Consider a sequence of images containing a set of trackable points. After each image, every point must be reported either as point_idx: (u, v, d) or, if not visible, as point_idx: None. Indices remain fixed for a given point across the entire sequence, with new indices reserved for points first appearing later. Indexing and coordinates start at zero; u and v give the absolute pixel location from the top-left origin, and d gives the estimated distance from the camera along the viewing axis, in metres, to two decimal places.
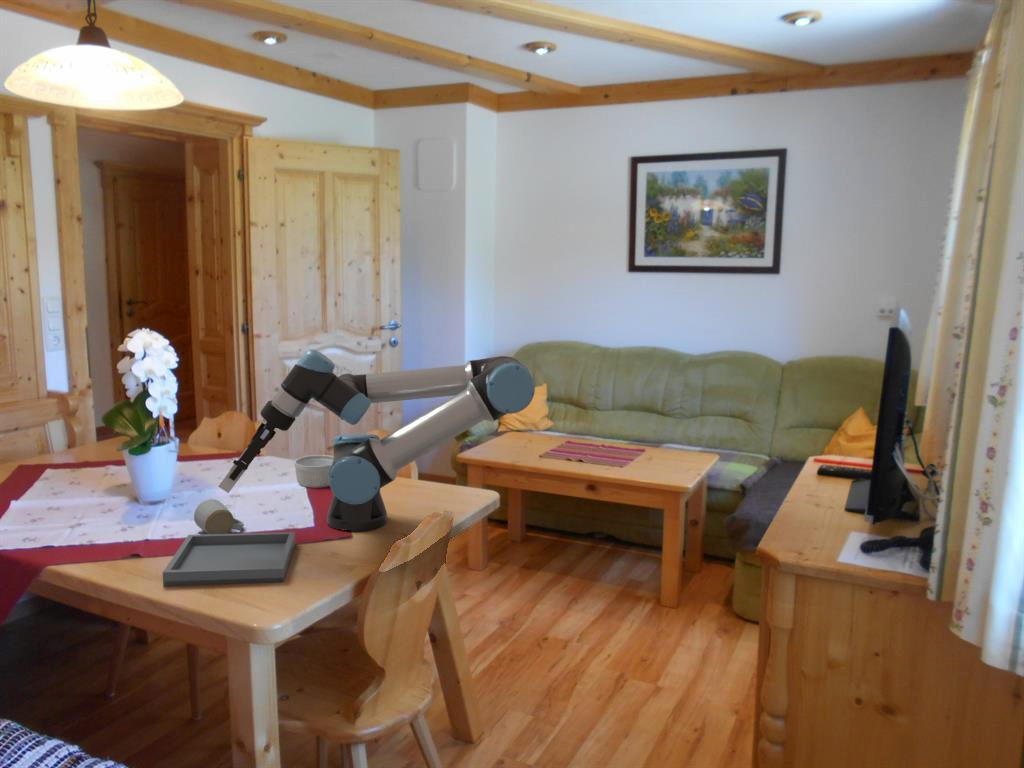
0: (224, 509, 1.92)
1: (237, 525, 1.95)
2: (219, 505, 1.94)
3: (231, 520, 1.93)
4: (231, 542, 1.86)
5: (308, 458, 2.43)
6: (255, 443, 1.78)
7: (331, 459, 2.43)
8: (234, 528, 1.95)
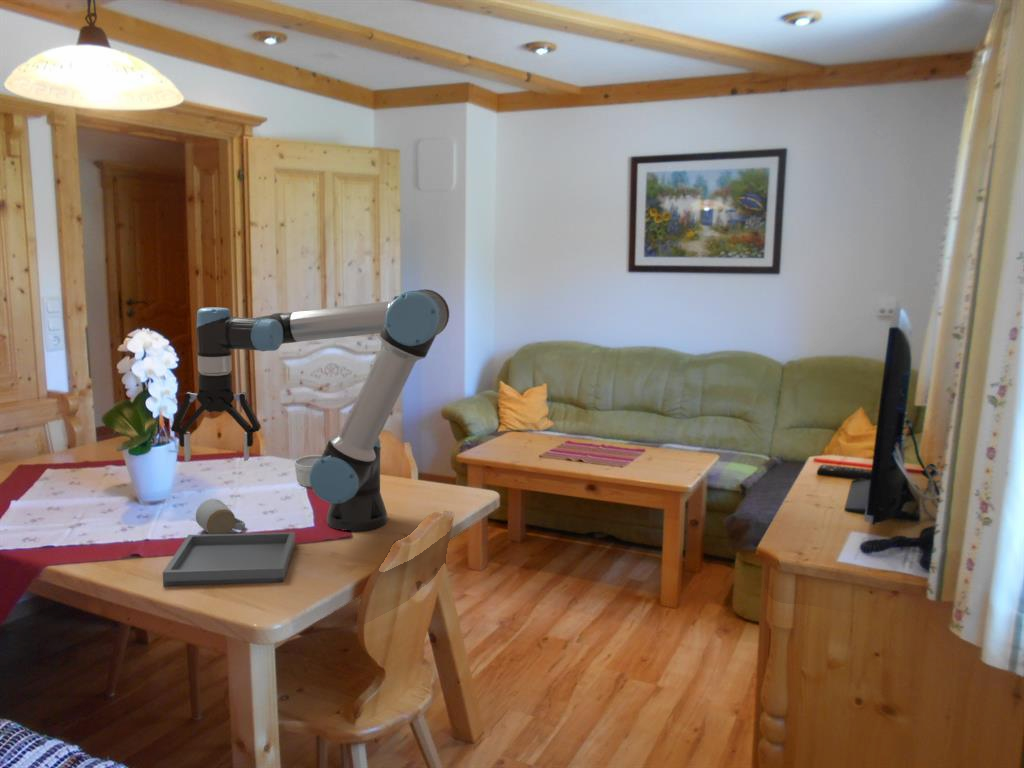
0: (226, 509, 1.92)
1: (239, 525, 1.95)
2: (221, 505, 1.94)
3: (233, 520, 1.93)
4: (231, 542, 1.86)
5: (308, 458, 2.43)
6: None
7: None
8: (236, 528, 1.95)
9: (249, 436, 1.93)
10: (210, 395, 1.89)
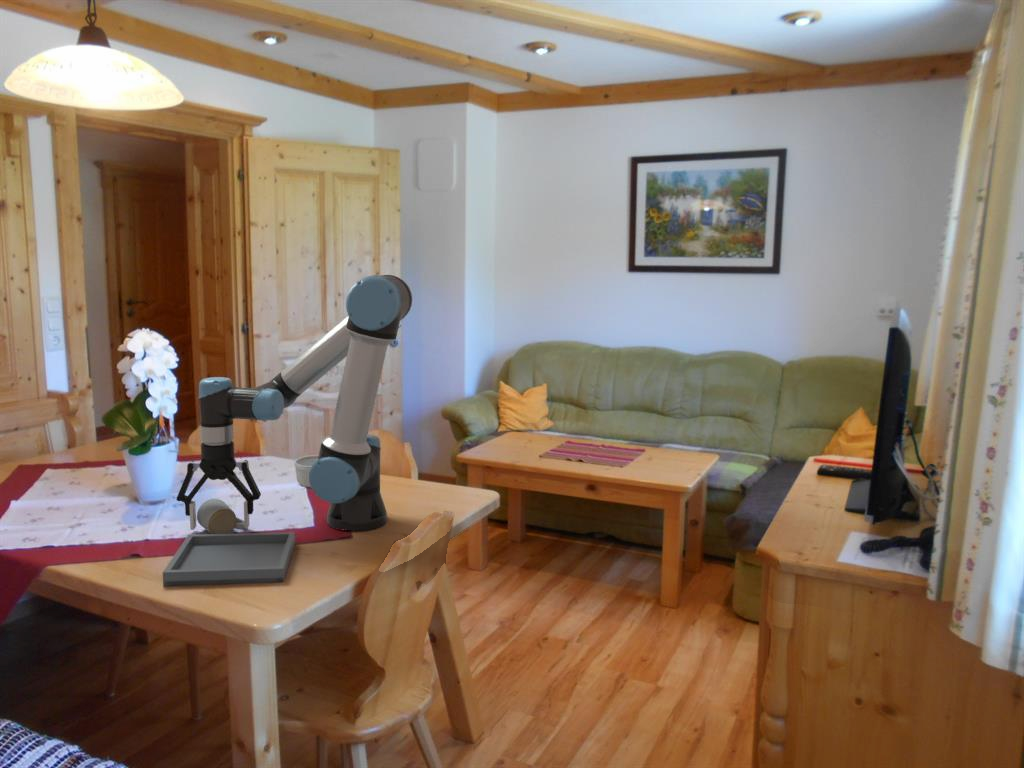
0: (227, 508, 1.93)
1: (240, 524, 1.96)
2: (222, 504, 1.94)
3: (234, 519, 1.93)
4: (231, 542, 1.86)
5: (308, 458, 2.43)
6: None
7: None
8: (237, 527, 1.95)
9: (250, 504, 1.95)
10: (212, 463, 1.92)
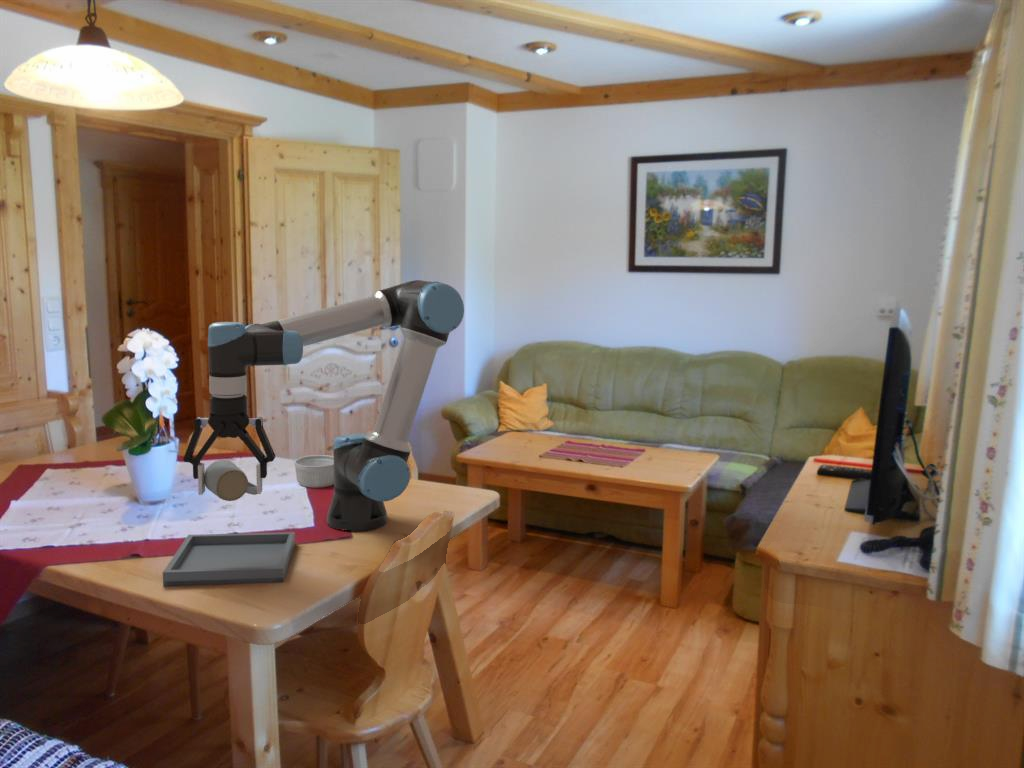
0: (238, 470, 1.71)
1: (252, 489, 1.74)
2: (232, 466, 1.73)
3: (245, 482, 1.72)
4: (231, 542, 1.86)
5: (308, 458, 2.43)
6: None
7: (331, 459, 2.43)
8: (248, 492, 1.74)
9: (263, 467, 1.74)
10: (223, 418, 1.70)
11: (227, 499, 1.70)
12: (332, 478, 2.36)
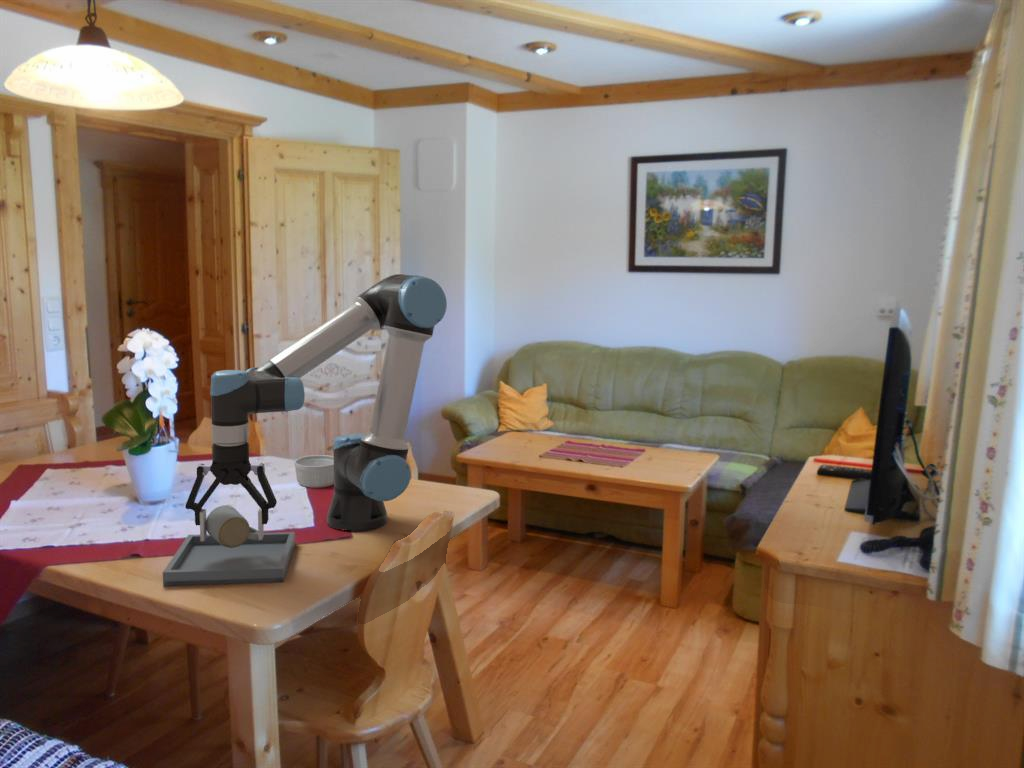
0: (240, 517, 1.72)
1: (253, 534, 1.75)
2: (234, 512, 1.74)
3: (247, 529, 1.73)
4: None
5: (308, 458, 2.43)
6: None
7: (331, 459, 2.43)
8: (250, 538, 1.75)
9: (264, 513, 1.75)
10: (225, 466, 1.72)
11: (229, 546, 1.71)
12: (332, 478, 2.36)
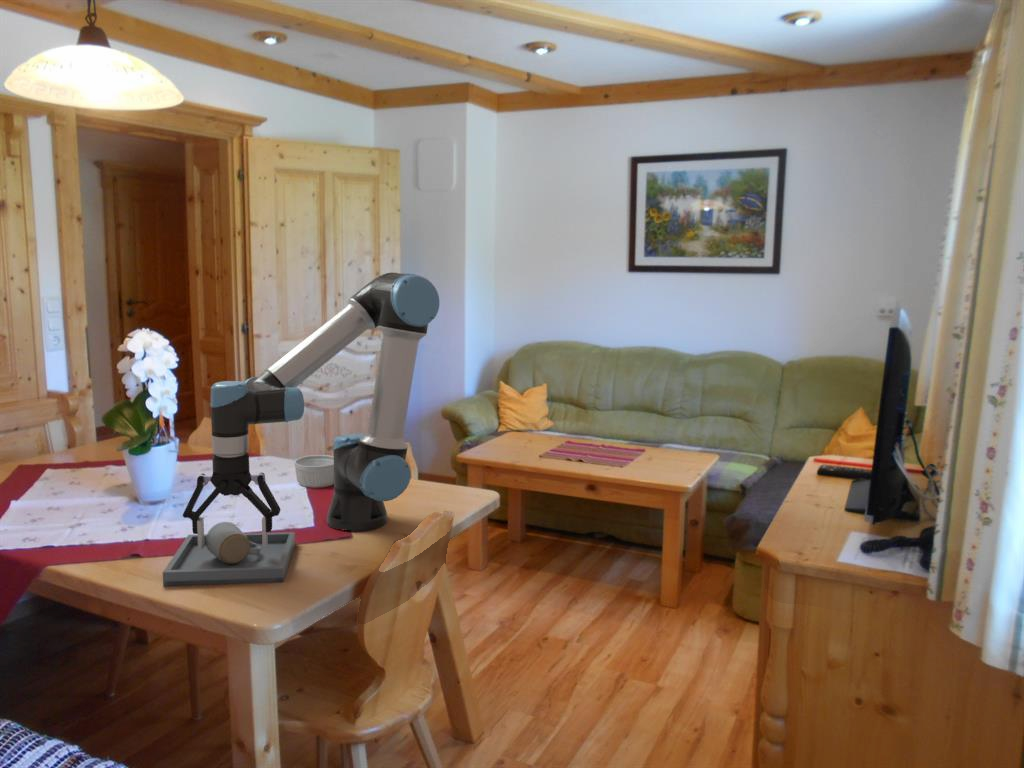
0: (239, 533, 1.73)
1: (254, 549, 1.76)
2: (233, 528, 1.74)
3: (247, 545, 1.74)
4: None
5: (308, 458, 2.43)
6: None
7: (331, 459, 2.43)
8: (251, 553, 1.76)
9: (268, 521, 1.76)
10: (225, 477, 1.72)
11: (230, 563, 1.72)
12: (332, 478, 2.36)
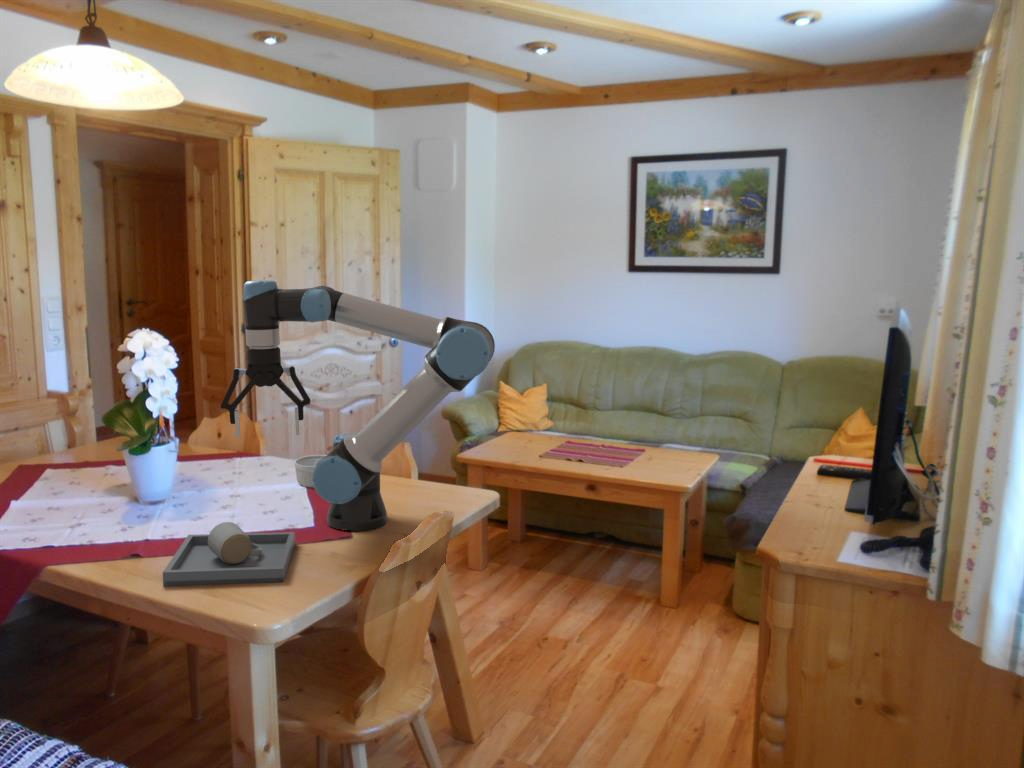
0: (241, 533, 1.73)
1: (255, 551, 1.76)
2: (236, 529, 1.75)
3: (249, 545, 1.74)
4: None
5: (308, 458, 2.43)
6: None
7: None
8: (252, 554, 1.76)
9: (300, 410, 1.90)
10: (260, 369, 1.86)
11: (231, 563, 1.72)
12: None
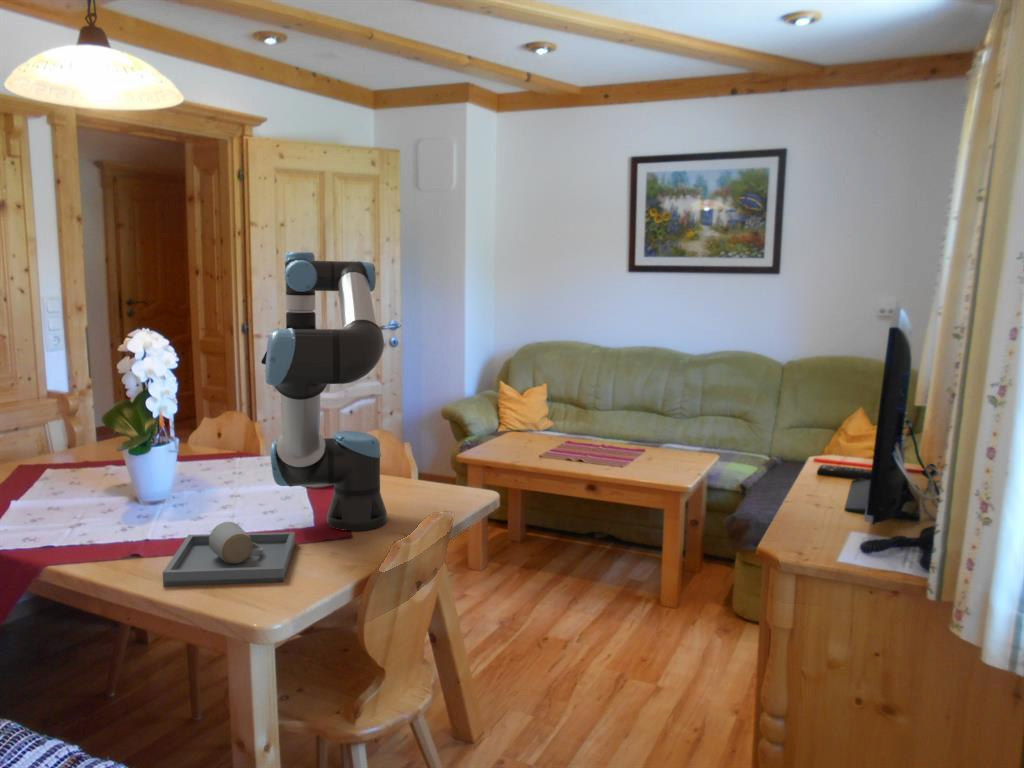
0: (242, 533, 1.74)
1: (256, 550, 1.77)
2: (237, 528, 1.75)
3: (250, 545, 1.74)
4: None
5: None
6: None
7: None
8: (253, 554, 1.76)
9: None
10: None
11: (232, 562, 1.72)
12: None
